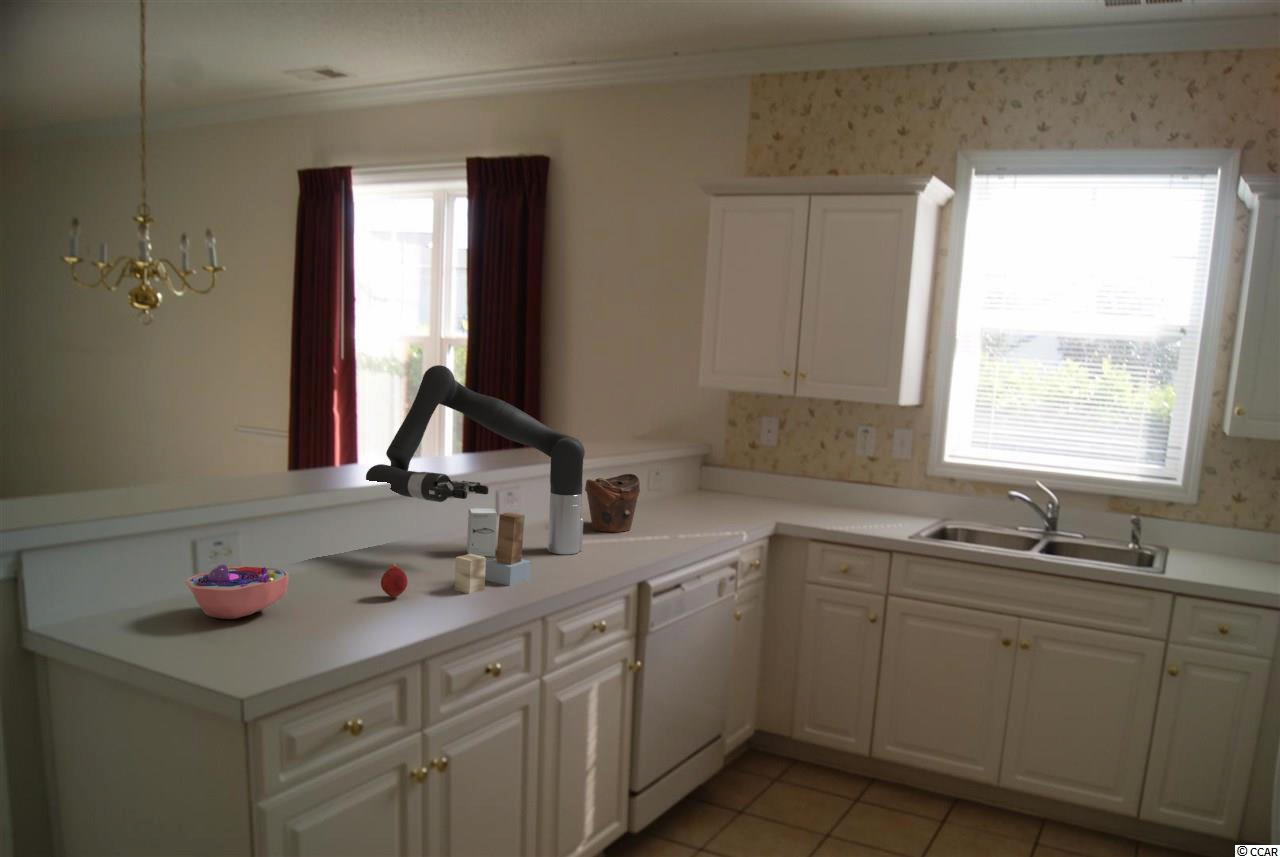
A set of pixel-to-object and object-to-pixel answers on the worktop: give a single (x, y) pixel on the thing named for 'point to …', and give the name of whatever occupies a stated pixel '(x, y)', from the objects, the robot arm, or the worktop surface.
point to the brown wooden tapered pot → (613, 502)
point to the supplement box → (481, 531)
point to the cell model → (237, 590)
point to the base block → (508, 572)
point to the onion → (394, 581)
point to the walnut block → (510, 538)
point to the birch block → (470, 573)
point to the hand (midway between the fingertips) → (477, 492)
